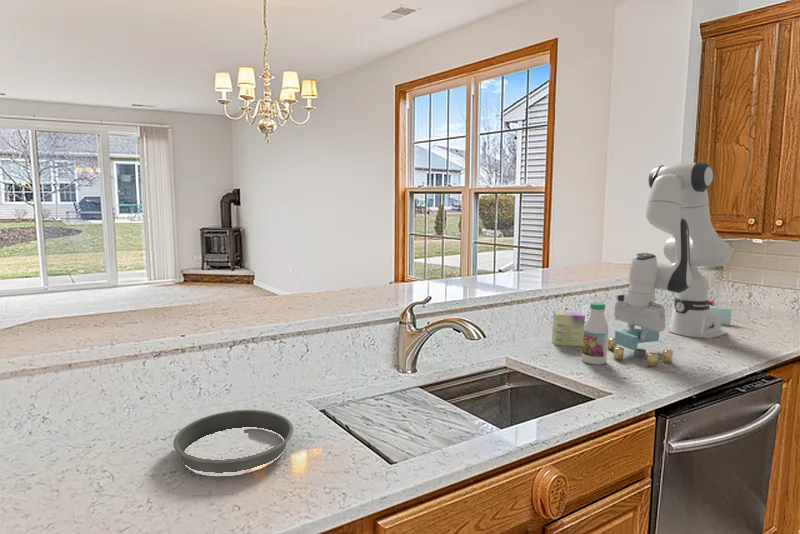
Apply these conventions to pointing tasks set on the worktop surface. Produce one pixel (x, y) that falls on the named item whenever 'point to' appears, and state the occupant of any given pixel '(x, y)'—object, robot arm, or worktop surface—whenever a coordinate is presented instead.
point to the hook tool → (634, 338)
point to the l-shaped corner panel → (722, 314)
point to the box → (568, 328)
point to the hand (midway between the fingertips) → (637, 337)
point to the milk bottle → (595, 336)
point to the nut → (640, 353)
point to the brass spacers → (650, 357)
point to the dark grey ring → (228, 422)
